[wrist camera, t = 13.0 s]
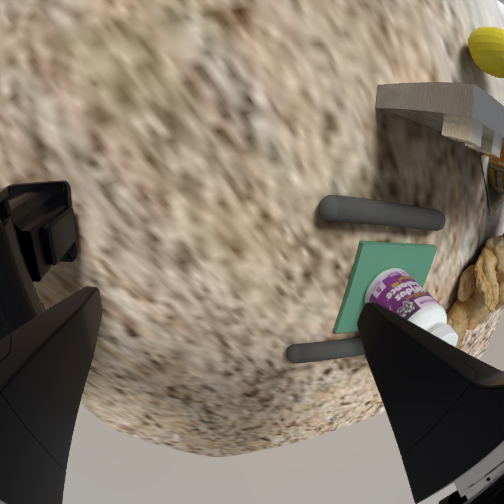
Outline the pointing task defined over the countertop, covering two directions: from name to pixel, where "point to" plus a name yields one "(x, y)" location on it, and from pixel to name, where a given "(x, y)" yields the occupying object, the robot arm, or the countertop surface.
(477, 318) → the ginger root
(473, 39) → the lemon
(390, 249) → the pad
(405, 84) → the gray printed box
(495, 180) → the condiment
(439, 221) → the dark grey rod
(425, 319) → the pill bottle
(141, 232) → the countertop surface
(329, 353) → the dark grey rounded rod
